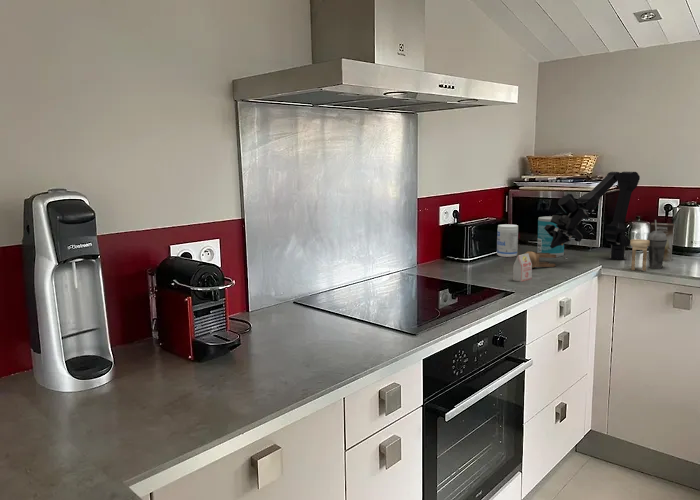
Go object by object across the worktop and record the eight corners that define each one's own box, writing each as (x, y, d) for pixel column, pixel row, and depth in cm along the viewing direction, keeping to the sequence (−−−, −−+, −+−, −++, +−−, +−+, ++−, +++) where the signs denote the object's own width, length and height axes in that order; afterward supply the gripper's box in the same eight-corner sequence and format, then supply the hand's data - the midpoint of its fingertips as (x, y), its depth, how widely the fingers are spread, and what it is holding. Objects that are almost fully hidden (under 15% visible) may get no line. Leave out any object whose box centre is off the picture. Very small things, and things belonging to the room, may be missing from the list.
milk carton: (513, 280, 218) (513, 254, 216) (523, 277, 222) (523, 252, 220) (521, 281, 215) (521, 256, 213) (531, 278, 219) (532, 253, 217)
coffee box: (647, 259, 250) (649, 224, 247) (648, 257, 255) (650, 222, 252) (671, 261, 245) (673, 225, 242) (671, 259, 250) (674, 223, 247)
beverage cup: (669, 269, 229) (672, 220, 226) (651, 269, 230) (654, 220, 226) (659, 265, 237) (662, 218, 233) (642, 266, 237) (645, 219, 233)
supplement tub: (492, 255, 271) (493, 225, 269) (505, 253, 277) (505, 223, 274) (509, 258, 263) (509, 227, 261) (521, 255, 269) (522, 225, 267)
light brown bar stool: (628, 267, 235) (630, 238, 233) (647, 268, 232) (649, 239, 230) (629, 270, 229) (630, 241, 227) (648, 271, 226) (650, 242, 224)
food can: (565, 257, 261) (566, 219, 258) (538, 257, 264) (539, 219, 261) (562, 253, 272) (563, 216, 269) (536, 252, 275) (537, 216, 272)
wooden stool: (547, 250, 245) (524, 250, 241) (557, 253, 239) (534, 252, 235) (545, 266, 246) (522, 266, 242) (556, 269, 240) (532, 269, 236)
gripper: (548, 206, 249) (526, 232, 247) (578, 209, 232) (555, 238, 230) (562, 222, 253) (541, 249, 251) (592, 227, 235) (570, 255, 234)
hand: (551, 247), depth 241 cm, fingers closed
